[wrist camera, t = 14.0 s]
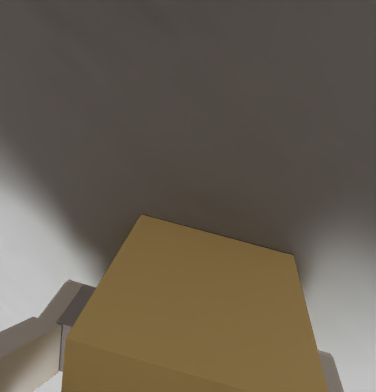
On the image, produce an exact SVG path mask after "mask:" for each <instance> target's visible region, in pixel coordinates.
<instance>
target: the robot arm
mask: <svg viewBox="0 0 376 392" xmlns="http://www.w3.org/2000/svg"><path fill="white" fill-rule="evenodd" d="M95 289H96V287H92V286H89V285H86V284H81V283H78V282H75V281H72V280H68V281H67V282H65V283H64V285H63V286H62V287H61V289H60V290H59V291H58V292H57V294H56V295H55V296H54V298H53V299H52V300H51V302H50V303H49V304H48V306H47V307H46V308H45V309H44V311H43V312H42V313H41V315H40V316H39V317H38V318H36V317H31V318H29V319H27V320H25V321H23V322H21V323H18V324H16V325H14V326H12V327H10V328H8V329H5V330H3V331H1V332H0V392H33V391H34V390H35V389H37V388H38V387H39V386H41V385H42V384H43V383H45V382H46V381H48V380H49V379H50V378H52V377H53V376H54V375H56V374H57V373H58V371H62V372H63V365H64V352H65V339H66V337H67V335H68V333H69V332H70V330H71V329H72V327H73V325H74V324H75V322H76V320H77V319H78V317H79V315H80V314H81V312H82V311H83V309H84V307H85V306H86V304H87V302H88V301H89V299H90V297H91V296H92V294H93V293H94V291H95ZM318 353H319V357H320V361H321V365H322V369H323V373H324V377H325V381H326V385H327V389H328V392H344V390H343V387H342V384H341V381H340V378H339V374H338V371H337V368H336V365H335V361H334V358H333V356H332V355H331V354H330V353H326V352H323V351H319V350H318Z"/></svg>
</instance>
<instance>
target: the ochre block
mask: <svg viewBox="0 0 376 392" xmlns="http://www.w3.org/2000/svg"><path fill="white" fill-rule="evenodd" d="M61 392H328V389H327V385H326V381H325V377H324V373H323V369H322V365H321V361H320V357H319V353H318V349H317V345H316V342H315V338H314V334H313V330H312V326H311V322H310V318H309V314H308V310H307V306H306V302H305V299H304V295H303V291H302V287H301V283H300V279H299V275H298V271H297V267H296V263H295V259H294V255H290V254H287V253H283V252H279V251H276V250H272V249H268V248H264V247H261V246H257V245H253V244H250V243H246V242H242V241H238V240H235V239H231V238H227V237H223V236H220V235H216V234H212V233H209V232H205V231H201V230H197V229H194V228H190V227H186V226H183V225H179V224H175V223H171V222H168V221H164V220H160V219H157V218H153V217H149V216H145V215H142V214H141V216H140V217H139V219H138V220H137V222H136V224H135V225H134V227H133V229H132V230H131V232H130V234H129V235H128V237H127V238H126V240H125V242H124V243H123V245H122V247H121V248H120V250H119V252H118V253H117V255H116V256H115V258H114V260H113V261H112V263H111V265H110V266H109V268H108V270H107V271H106V273H105V274H104V276H103V278H102V279H101V281H100V283H99V284H98V286H97V288H96V289H95V291H94V293H93V294H92V296H91V297H90V299H89V301H88V302H87V304H86V306H85V307H84V309H83V311H82V312H81V314H80V315H79V317H78V319H77V320H76V322H75V324H74V325H73V327H72V329H71V330H70V332H69V333H68V335H67V337H66V339H65V352H64V365H63V378H62V391H61Z"/></svg>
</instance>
